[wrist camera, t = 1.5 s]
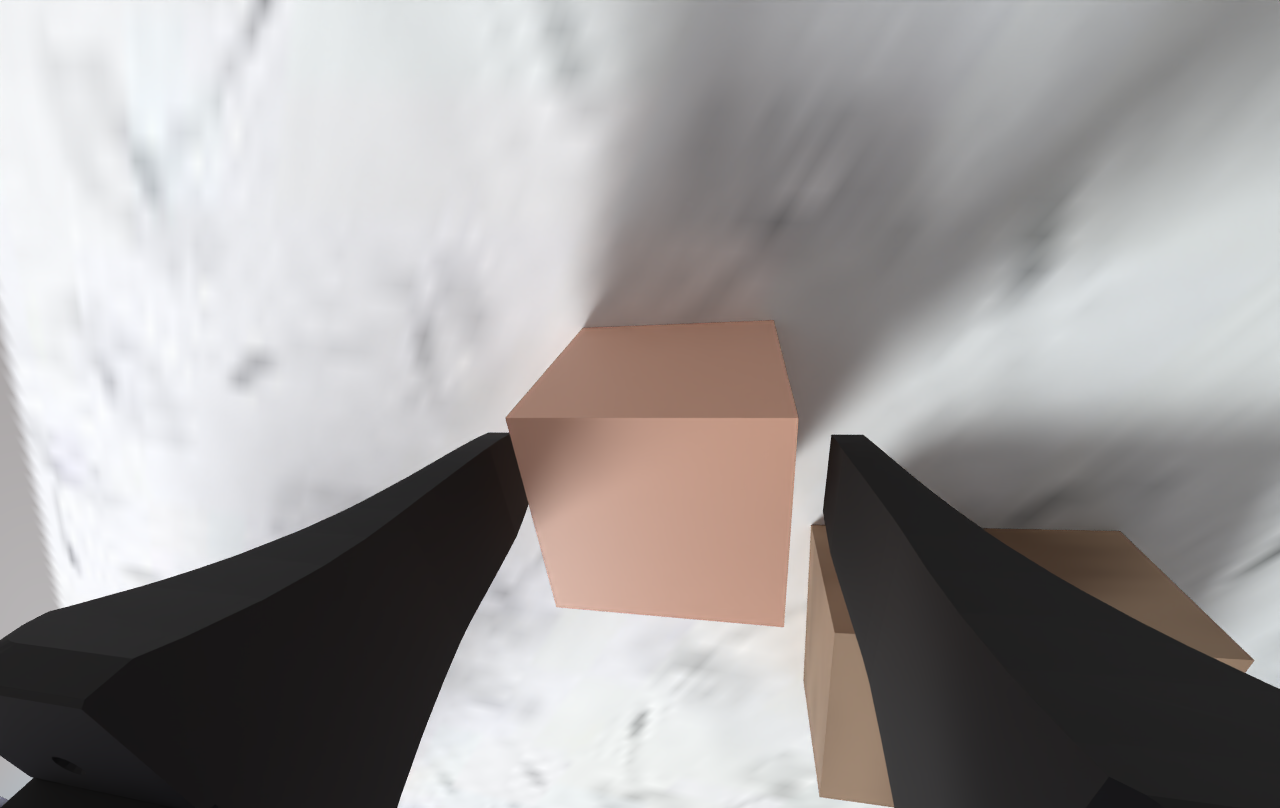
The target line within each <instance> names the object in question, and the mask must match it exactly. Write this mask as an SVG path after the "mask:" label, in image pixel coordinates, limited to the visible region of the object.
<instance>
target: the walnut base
mask: <svg viewBox="0 0 1280 808" xmlns="http://www.w3.org/2000/svg"><path fill="white" fill-rule="evenodd" d="M982 529H984V530H985V531H986V532H988V533H989V534H991V535H992V536H994V537H995V538H997V539H998V540H1000V541H1001V542H1003V543H1004V544H1006V545H1007V546H1009V547H1011V548H1012V549H1014V550H1015V551H1017V552H1019V553H1020V554H1022V555H1024V556H1025V557H1027V558H1028V559H1030V560H1032V561H1033V562H1035V563H1036V564H1038V565H1040V566H1041V567H1043V568H1045V569H1046V570H1048V571H1049V572H1051V573H1053V574H1054V575H1056V576H1058V577H1060V578H1061V579H1063V580H1065V581H1067V582H1068V583H1070V584H1072V585H1074V586H1075V587H1077V588H1079V589H1081V590H1082V591H1084V592H1086V593H1088V594H1090V595H1092V596H1093V597H1095V598H1097V599H1099V600H1101V601H1103V602H1105V603H1106V604H1108V605H1110V606H1112V607H1114V608H1116V609H1117V610H1119V611H1121V612H1123V613H1125V614H1127V615H1129V616H1130V617H1132V618H1134V619H1136V620H1138V621H1140V622H1142V623H1144V624H1146V625H1148V626H1150V627H1152V628H1154V629H1156V630H1158V631H1160V632H1162V633H1164V634H1166V635H1167V636H1169V637H1171V638H1173V639H1175V640H1177V641H1179V642H1181V643H1183V644H1185V645H1187V646H1189V647H1191V648H1194V649H1196V650H1198V651H1200V652H1202V653H1204V654H1206V655H1208V656H1210V657H1213V658H1215V659H1217V660H1219V661H1221V662H1223V663H1225V664H1227V665H1229V666H1231V667H1234V668H1236V669H1238V670H1240V671H1242V672H1244V673H1245V672H1246V671H1247V670H1248V668H1249V667H1250V666H1251V664H1252V663H1253V662H1254V659H1252V658H1251V657H1250V656H1249V655H1248V654H1247V653H1246V652H1245V651H1244V650H1243V649H1242V648H1241V647H1240V646H1239V645H1238V644H1237V643H1236V642H1235V641H1234V640H1233V639H1232V638H1231V637H1230V636H1229V635H1228V634H1226V633H1225V632H1224V631H1223V630H1222V629H1221V628H1220V627H1219V626H1218V625H1217V624H1216V623H1215V622H1214V621H1213V620H1212V619H1211V618H1210V617H1209V616H1208V615H1207V614H1206V613H1205V612H1204V611H1203V610H1202V609H1201V608H1199V607H1198V606H1197V605H1196V604H1195V603H1194V602H1193V601H1192V600H1191V599H1190V598H1189V597H1188V596H1187V595H1186V594H1185V593H1184V592H1183V591H1182V590H1181V589H1180V588H1179V587H1178V586H1177V585H1176V584H1175V583H1173V582H1172V581H1171V580H1170V579H1169V578H1168V577H1167V576H1166V575H1165V574H1164V573H1163V572H1162V571H1161V570H1160V569H1159V568H1158V567H1157V566H1156V565H1155V564H1154V563H1153V562H1152V561H1151V560H1150V559H1149V558H1147V557H1146V556H1145V555H1144V554H1143V553H1142V552H1141V551H1140V550H1139V549H1138V548H1137V547H1136V546H1135V545H1134V544H1133V543H1132V542H1131V541H1130V540H1129V539H1128V538H1127V537H1126V536H1125V535H1124V534H1123V533H1122V532H1120V531H1091V530H1041V529H990V528H982ZM804 688H805V695H806V702H807V709H808V717H809V724H810V731H811V738H812V745H813V753H814V760H815V767H816V774H817V781H818V789H819V796H820V797H823V798H831V799H838V800H845V801H852V802H859V803H867V804H874V805H881V806H888V807H894V803H893V798H892V793H891V788H890V783H889V778H888V773H887V767H886V762H885V757H884V752H883V747H882V742H881V737H880V732H879V727H878V722H877V718H876V713H875V708H874V703H873V698H872V694H871V689H870V684H869V680H868V676H867V673H866V669H865V665H864V661H863V658H862V655H861V651H860V648H859V645H858V642H857V639H856V635H855V632H854V629H853V626H852V623H851V619H850V616H849V613H848V610H847V607H846V603H845V600H844V597H843V594H842V591H841V587H840V584H839V581H838V577H837V574H836V571H835V568H834V564H833V561H832V558H831V554H830V549H829V544H828V538H827V532H826V526H825V525H811V537H810V558H809V579H808V599H807V620H806V641H805V661H804Z"/></svg>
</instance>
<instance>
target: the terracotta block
mask: <svg viewBox="0 0 1280 808" xmlns="http://www.w3.org/2000/svg"><path fill="white" fill-rule="evenodd" d="M506 422H507V426H508V429H509V433H510V437H511V440H512V444H513V448H514V452H515V455H516V459H517V463H518V466H519V470H520V474H521V477H522V481H523V485H524V489H525V492H526V496H527V500H528V503H529V507H530V511H531V515H532V518H533V522H534V526H535V529H536V533H537V537H538V540H539V544H540V548H541V552H542V555H543V559H544V563H545V566H546V570H547V574H548V578H549V581H550V585H551V589H552V592H553V596H554V600H555V603H556V607H561V608H572V609H583V610H595V611H606V612H617V613H629V614H640V615H652V616H663V617H674V618H686V619H697V620H708V621H720V622H731V623H742V624H754V625H765V626H777V627H784V617H785V603H786V589H787V575H788V560H789V546H790V532H791V518H792V504H793V489H794V475H795V461H796V447H797V432H798V414H797V410H796V406H795V402H794V398H793V394H792V390H791V387H790V383H789V379H788V375H787V371H786V367H785V363H784V359H783V355H782V351H781V347H780V343H779V339H778V336H777V332H776V328H775V324H774V320H766V321H741V322H717V323H692V324H667V325H642V326H618V327H593V328H582V329H581V331H580V332H579V333H578V334H577V335H576V336H575V338H574V339H573V340H572V341H571V342H570V343H569V345H568V346H567V347H566V348H565V349H564V350H563V352H562V353H561V354H560V355H559V356H558V357H557V358H556V360H555V361H554V362H553V363H552V364H551V365H550V367H549V368H548V369H547V370H546V371H545V372H544V374H543V375H542V376H541V377H540V378H539V379H538V381H537V382H536V383H535V384H534V385H533V386H532V388H531V389H530V390H529V391H528V392H527V393H526V395H525V396H524V397H523V398H522V399H521V400H520V401H519V403H518V404H517V405H516V406H515V407H514V408H513V410H512V411H511V412H510V413H509V414H508V415H507V417H506Z"/></svg>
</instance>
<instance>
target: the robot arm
mask: <svg viewBox="0 0 1280 808" xmlns="http://www.w3.org/2000/svg"><path fill="white" fill-rule="evenodd" d="M528 504H529V503H528V500H527V496H526V492H525V489H524V485H523V481H522V477H521V474H520V470H519V466H518V463H517V459H516V455H515V452H514V448H513V444H512V440H511V437H510V433H487V434H484V435H482V436H480V437H478V438H476V439H474V440H472V441H470V442H468V443H466V444H465V445H463V446H461V447H459V448H457V449H456V450H454V451H452V452H450V453H449V454H447V455H445V456H443V457H442V458H440V459H438V460H436V461H435V462H433V463H431V464H430V465H428V466H426V467H424V468H423V469H421V470H419V471H417V472H416V473H414V474H412V475H410V476H409V477H407V478H405V479H403V480H401V481H399V482H398V483H396V484H394V485H392V486H390V487H388V488H386V489H385V490H383V491H381V492H379V493H377V494H375V495H373V496H372V497H370V498H368V499H366V500H364V501H362V502H360V503H358V504H356V505H354V506H352V507H350V508H348V509H346V510H344V511H342V512H340V513H338V514H336V515H333V516H331V517H329V518H327V519H325V520H322V521H320V522H318V523H316V524H314V525H311V526H309V527H307V528H305V529H302V530H300V531H297V532H295V533H292V534H290V535H287V536H285V537H282V538H280V539H277V540H275V541H272V542H270V543H267V544H264V545H262V546H259V547H257V548H254V549H252V550H249V551H247V552H244V553H242V554H239V555H236V556H233V557H231V558H228V559H225V560H222V561H219V562H216V563H213V564H210V565H207V566H204V567H202V568H199V569H195V570H192V571H189V572H186V573H183V574H180V575H177V576H174V577H171V578H167V579H164V580H161V581H158V582H154V583H151V584H148V585H144V586H141V587H137V588H134V589H130V590H127V591H123V592H119V593H116V594H112V595H109V596H105V597H101V598H98V599H94V600H91V601H87V602H83V603H80V604H76V605H72V606H69V607H65V608H61V609H57V610H53V611H50V612H47V613H45V614H43V615H41V616H39V617H37V618H35V619H33V620H31V621H29V622H28V623H26V624H24V625H22V626H21V627H19V628H17V629H16V630H14V631H13V632H12V633H10V634H9V635H7V636H6V637H4V638H3V639H1V640H0V756H2V757H3V758H4V759H6V760H7V761H9V762H10V763H12V764H13V765H14V766H16V767H17V768H19V769H20V770H22V771H23V772H24V773H26V774H27V775H29V776H30V777H33V779H32V780H31V781H30V782H28V783H27V784H26V785H25V786H24V787H23V788H22V789H21V790H20V791H18V792H17V793H16V794H15V795H14V796H13V797H12V798H11V799H10V800H7V799H5V798H3V797H1V796H0V808H397V806H398V803H399V800H400V797H401V794H402V791H403V788H404V786H405V783H406V780H407V777H408V774H409V772H410V769H411V766H412V763H413V760H414V758H415V755H416V752H417V749H418V746H419V744H420V741H421V738H422V735H423V733H424V730H425V727H426V725H427V722H428V720H429V717H430V715H431V712H432V710H433V707H434V704H435V702H436V699H437V697H438V694H439V692H440V689H441V687H442V684H443V682H444V679H445V677H446V675H447V672H448V670H449V668H450V665H451V663H452V661H453V658H454V656H455V653H456V651H457V649H458V646H459V644H460V642H461V640H462V638H463V636H464V634H465V632H466V630H467V628H468V626H469V623H470V621H471V620H472V618H473V616H474V614H475V612H476V610H477V609H478V607H479V605H480V603H481V601H482V600H483V598H484V596H485V594H486V592H487V590H488V589H489V587H490V585H491V583H492V581H493V579H494V578H495V576H496V574H497V572H498V570H499V569H500V567H501V565H502V563H503V561H504V559H505V557H506V555H507V554H508V552H509V550H510V548H511V546H512V544H513V542H514V540H515V538H516V536H517V534H518V531H519V529H520V526H521V524H522V521H523V518H524V516H525V513H526V510H527V507H528ZM823 514H824V520H825V526H826V532H827V538H828V544H829V549H830V554H831V558H832V561H833V564H834V568H835V571H836V574H837V577H838V581H839V584H840V587H841V591H842V594H843V597H844V600H845V603H846V607H847V610H848V613H849V616H850V619H851V623H852V626H853V629H854V632H855V635H856V639H857V642H858V645H859V648H860V651H861V655H862V658H863V661H864V665H865V669H866V673H867V676H868V680H869V684H870V689H871V694H872V698H873V703H874V708H875V713H876V718H877V722H878V727H879V732H880V737H881V742H882V747H883V752H884V757H885V762H886V767H887V773H888V778H889V783H890V788H891V793H892V798H893V803H894V808H1280V689H1278V688H1276V687H1274V686H1272V685H1270V684H1267V683H1265V682H1263V681H1261V680H1259V679H1257V678H1255V677H1253V676H1250V675H1248V674H1246V673H1244V672H1242V671H1240V670H1238V669H1236V668H1234V667H1231V666H1229V665H1227V664H1225V663H1223V662H1221V661H1219V660H1217V659H1215V658H1213V657H1210V656H1208V655H1206V654H1204V653H1202V652H1200V651H1198V650H1196V649H1194V648H1191V647H1189V646H1187V645H1185V644H1183V643H1181V642H1179V641H1177V640H1175V639H1173V638H1171V637H1169V636H1167V635H1166V634H1164V633H1162V632H1160V631H1158V630H1156V629H1154V628H1152V627H1150V626H1148V625H1146V624H1144V623H1142V622H1140V621H1138V620H1136V619H1134V618H1132V617H1130V616H1129V615H1127V614H1125V613H1123V612H1121V611H1119V610H1117V609H1116V608H1114V607H1112V606H1110V605H1108V604H1106V603H1105V602H1103V601H1101V600H1099V599H1097V598H1095V597H1093V596H1092V595H1090V594H1088V593H1086V592H1084V591H1082V590H1081V589H1079V588H1077V587H1075V586H1074V585H1072V584H1070V583H1068V582H1067V581H1065V580H1063V579H1061V578H1060V577H1058V576H1056V575H1054V574H1053V573H1051V572H1049V571H1048V570H1046V569H1045V568H1043V567H1041V566H1040V565H1038V564H1036V563H1035V562H1033V561H1032V560H1030V559H1028V558H1027V557H1025V556H1024V555H1022V554H1020V553H1019V552H1017V551H1015V550H1014V549H1012V548H1011V547H1009V546H1007V545H1006V544H1004V543H1003V542H1001V541H1000V540H998V539H997V538H995V537H994V536H992V535H991V534H989V533H988V532H986V531H985V530H984V529H982V528H981V527H979V526H978V525H977V524H975V523H974V522H972V521H971V520H969V519H968V518H967V517H965V516H964V515H962V514H961V513H960V512H958V511H957V510H955V509H954V508H953V507H951V506H950V505H949V504H947V503H946V502H945V501H944V500H942V499H941V498H940V497H938V496H937V495H936V494H934V493H933V492H932V491H931V490H929V489H928V488H927V487H925V486H924V485H923V484H922V483H921V482H919V481H918V480H917V479H916V478H914V477H913V476H912V475H911V474H909V473H908V472H907V471H906V470H905V469H903V468H902V467H901V466H900V465H899V464H897V463H896V462H895V461H894V460H893V459H892V458H890V457H889V456H888V455H887V454H886V453H884V452H883V451H882V450H881V449H880V448H879V447H877V446H876V445H875V444H874V443H873V442H871V441H870V440H869V439H868V438H866V437H865V436H864V435H831V444H830V453H829V461H828V470H827V479H826V488H825V497H824V506H823Z"/></svg>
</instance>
